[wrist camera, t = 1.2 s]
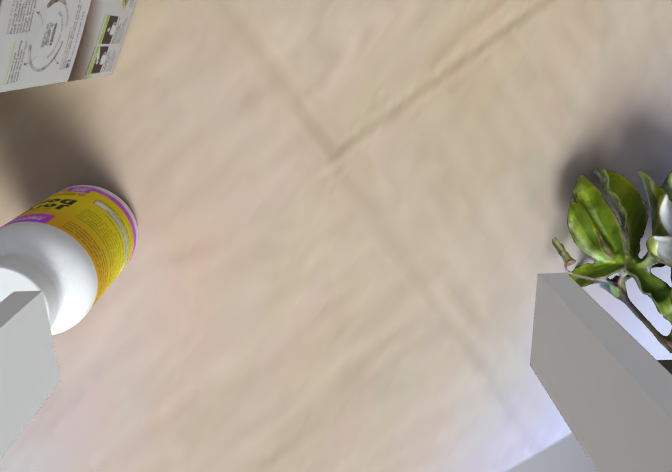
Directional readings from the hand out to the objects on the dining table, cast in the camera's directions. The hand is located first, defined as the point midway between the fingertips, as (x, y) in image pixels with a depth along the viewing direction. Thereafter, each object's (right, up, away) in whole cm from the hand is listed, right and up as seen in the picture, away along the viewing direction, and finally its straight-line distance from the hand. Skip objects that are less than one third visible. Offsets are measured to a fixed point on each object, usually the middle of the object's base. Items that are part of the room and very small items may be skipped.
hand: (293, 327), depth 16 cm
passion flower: (+22, +2, +28) cm, 35 cm away
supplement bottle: (-16, +3, +25) cm, 30 cm away
